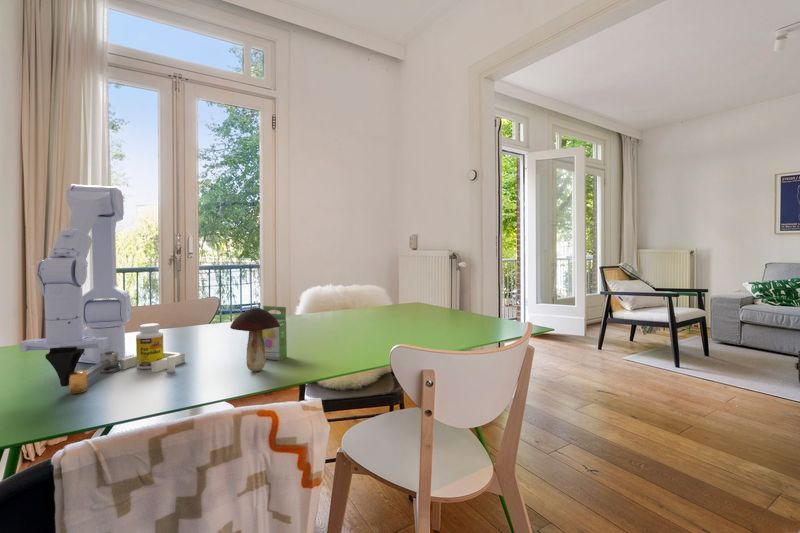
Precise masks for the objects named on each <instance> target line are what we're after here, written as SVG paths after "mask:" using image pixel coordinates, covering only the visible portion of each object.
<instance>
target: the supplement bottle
mask: <svg viewBox="0 0 800 533" xmlns="http://www.w3.org/2000/svg"><path fill="white" fill-rule="evenodd" d="M135 336H136V337H135V340H136V341H135V343H136V345H135V346H136V355H137V365H136V367H137V368H138V369H141V370H150V369H151V370H152V368H151V363H152V362H155V361H158V360H161V359H164V356H163V351H164V333H163V331H160V324H159V323H155V322H154V323H153V322H151V323H143V324H140V325H139V333H137V334H136V335H135Z"/></svg>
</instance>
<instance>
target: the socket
mask: <svg viewBox="0 0 800 533" xmlns="http://www.w3.org/2000/svg"><path fill="white" fill-rule="evenodd" d="M163 356H164V359H161V360H158V361H155V362H152V363H151V373H158V372H161V371H164V370H167V357H169V356H175V366H177V365H180V364H183V363H185V362H186V354H185V353H184V352H174V351H173V352H172V351H164V350H163ZM119 366H120V370H126V369H128V368H132V367H135V366H136V367H137V354H134V356H131V357H127V358H124V359H120V360H119Z"/></svg>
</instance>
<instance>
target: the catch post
mask: <svg viewBox="0 0 800 533" xmlns="http://www.w3.org/2000/svg"><path fill="white" fill-rule="evenodd" d="M166 371H167V373H168V374H170V373H175V372H176V365H175V356H169V357H167V369H166Z"/></svg>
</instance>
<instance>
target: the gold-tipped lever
mask: <svg viewBox="0 0 800 533" xmlns="http://www.w3.org/2000/svg"><path fill="white" fill-rule="evenodd" d="M99 356H100V362H99V363H97V364H95V363H94V364H93V365H92V366H91V367H89V368H87V369H86V370H76V371H74V372H71V373H69V385H68V394H79V393H80V394H81V393H84V392H86V391H87V390H88V380H90V379H92V378H93V377H95V376H97V374H100V373H99V372H101V371H102V370H106V369H113V368H117V367H119V366H120V360H119V352H113V351H107V352H105V353H102V354H100V355H99Z"/></svg>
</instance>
